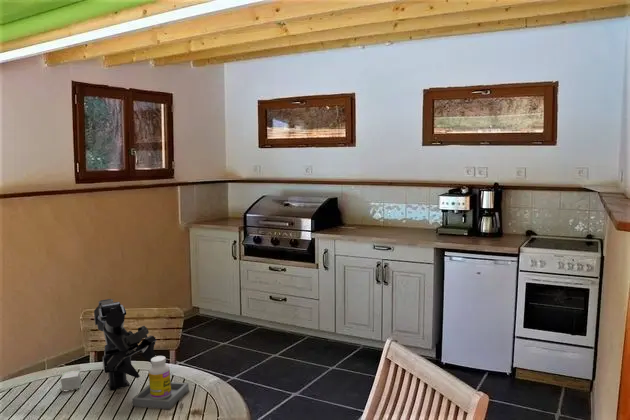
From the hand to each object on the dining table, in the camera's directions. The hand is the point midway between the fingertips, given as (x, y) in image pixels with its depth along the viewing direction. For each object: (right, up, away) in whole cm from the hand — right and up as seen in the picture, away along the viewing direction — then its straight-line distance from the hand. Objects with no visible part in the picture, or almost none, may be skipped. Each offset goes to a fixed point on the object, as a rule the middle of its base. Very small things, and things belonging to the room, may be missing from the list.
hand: (148, 371), depth 174 cm
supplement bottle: (+5, -8, -1) cm, 9 cm away
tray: (+5, -8, -1) cm, 10 cm away
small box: (-30, -9, +10) cm, 33 cm away
